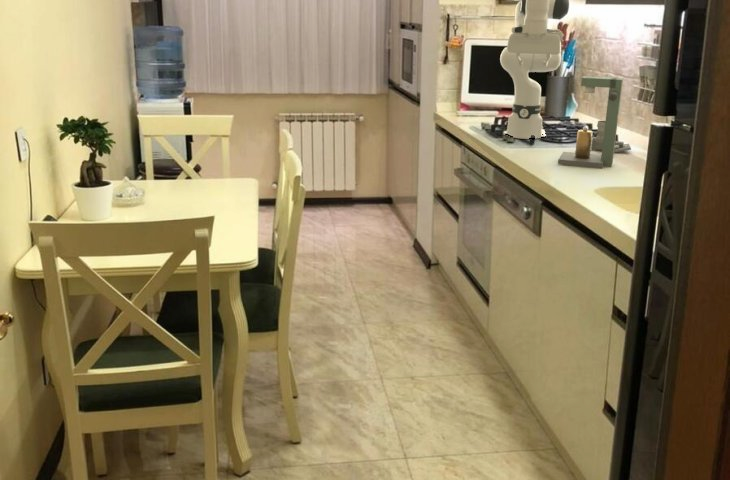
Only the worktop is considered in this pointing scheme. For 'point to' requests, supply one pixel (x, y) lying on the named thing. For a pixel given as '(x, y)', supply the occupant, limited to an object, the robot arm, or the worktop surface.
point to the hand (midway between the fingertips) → (532, 65)
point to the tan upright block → (583, 143)
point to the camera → (598, 141)
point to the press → (610, 124)
